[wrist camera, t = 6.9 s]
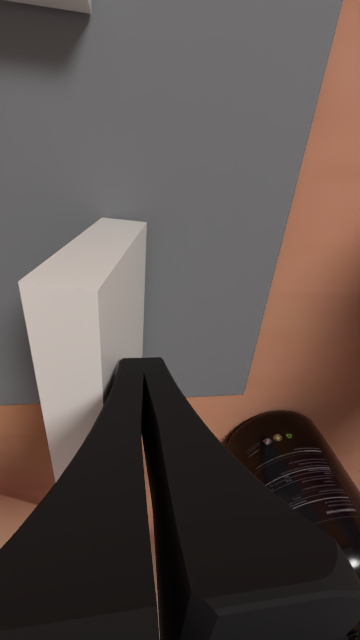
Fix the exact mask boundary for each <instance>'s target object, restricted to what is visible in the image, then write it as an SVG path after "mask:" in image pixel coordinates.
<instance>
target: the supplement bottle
mask: <svg viewBox="0 0 360 640" xmlns="http://www.w3.org/2000/svg"><path fill="white" fill-rule="evenodd" d="M225 448H226V449H227V450H228V451H229V452H230V453H231V454H232V455H233V456H234V457H235V458H236V459H237V460H238V461H239V462H240V463H241V464H242V465H243V466H244V467H245V468H246V469H248V470H249V471H250V472H251V473H252V474H253V475H254V476H255V477H256V478H258V479H259V480H260V481H261V482H262V483H263V484H264V485H265V486H266V487H267V488H269V489H270V490H271V491H272V492H273V493H274V494H276V495H277V496H278V497H279V498H281V499H282V500H283V501H284V502H285V503H287V504H288V505H289V506H290V507H292V508H293V509H294V510H295V511H297V512H298V513H300V514H301V515H302V516H304V517H305V518H306V519H308V520H309V521H311V522H312V523H313V524H315V525H316V526H317V527H319V528H320V529H322V530H323V531H324V532H326V533H327V534H328V535H330V536H331V537H333V538H334V539H335V540H336V541H337V543H338V545H339V546H340V548H341V549H342V551H343V552H344V554H345V556H346V557H347V559H348V560H349V562H350V564H351V565H352V567H353V569H354V571H355V572H356V574H357V576H358V578H359V580H360V491H359V490H358V488H357V487H356V485H355V484H354V482H353V481H352V479H351V478H350V476H349V475H348V473H347V472H346V470H345V469H344V467H343V466H342V464H341V463H340V461H339V460H338V458H337V457H336V455H335V454H334V452H333V451H332V449H331V448H330V446H329V445H328V443H327V442H326V440H325V439H324V437H323V436H322V434H321V433H320V431H319V430H318V428H317V427H316V426H315V424H314V423H313V422H312V421H311V420H310V419H309V418H307V417H306V416H304V415H302V414H299V413H296V412H292V411H272V412H268V413H264V414H261V415H258V416H256V417H254V418H252V419H250V420H248V421H246V422H245V423H244V424H242V425H241V426H240V427H239V428H237V429H236V430H235V432H234V433H233V434H232V435H231V437H230V438H229V440H228V442H227V444H226V447H225ZM346 636H347V638H348V640H360V621H359V622H358V623H357V624H356V625H355V626H354V627H353V628H352V629H351V630H350V631H349V632H348V633H347V634H346Z"/></svg>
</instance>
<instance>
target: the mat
mask: <svg viewBox="0 0 360 640" xmlns="http://www.w3.org/2000/svg"><path fill="white" fill-rule="evenodd" d="M342 2H343V0H91V4H92V14H88V13H82V12H76V11H69V10H63V9H56V8H50V7H44V6H37V5H31V4H25V3H18V2H12V1H6V0H0V405H16V404H39V403H41V402H40V397H39V392H38V386H37V381H36V376H35V370H34V365H33V359H32V354H31V349H30V343H29V338H28V333H27V327H26V322H25V317H24V311H23V306H22V300H21V295H20V290H19V284H18V281H19V280H21V279H22V278H23V277H25V276H26V275H27V274H29V273H30V272H31V271H33V270H34V269H35V268H36V267H38V266H39V265H40V264H42V263H43V262H44V261H46V260H47V259H48V258H50V257H51V256H52V255H54V254H55V253H56V252H57V251H59V250H60V249H61V248H63V247H64V246H65V245H67V244H68V243H69V242H71V241H72V240H73V239H75V238H76V237H77V236H78V235H80V234H81V233H82V232H84V231H85V230H86V229H88V228H89V227H90V226H92V225H93V224H94V223H96V222H97V221H98V220H99V219H101V218H102V217H103V218H112V219H122V220H131V221H140V222H147V232H146V262H145V293H144V323H143V353H142V358H148V357H161V358H162V359H163V360H164V362H165V364H166V366H167V368H168V370H169V372H170V374H171V375H172V377H173V379H174V381H175V382H176V384H177V386H178V387H179V389H180V390H181V392H182V393H183V395H184V396H185V397H198V396H221V395H243V394H244V390H245V386H246V382H247V378H248V374H249V371H250V367H251V363H252V359H253V355H254V351H255V347H256V343H257V339H258V335H259V331H260V327H261V323H262V319H263V315H264V311H265V307H266V303H267V299H268V295H269V291H270V287H271V283H272V279H273V275H274V271H275V267H276V263H277V259H278V256H279V252H280V248H281V244H282V240H283V236H284V232H285V228H286V224H287V220H288V216H289V212H290V208H291V204H292V200H293V196H294V192H295V188H296V184H297V180H298V176H299V172H300V168H301V164H302V160H303V156H304V152H305V148H306V144H307V141H308V137H309V133H310V129H311V125H312V121H313V117H314V113H315V109H316V105H317V101H318V97H319V93H320V89H321V85H322V81H323V77H324V73H325V69H326V65H327V61H328V57H329V53H330V49H331V45H332V41H333V37H334V33H335V29H336V26H337V22H338V18H339V14H340V10H341V6H342Z"/></svg>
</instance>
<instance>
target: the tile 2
mask: <svg viewBox="0 0 360 640" xmlns="http://www.w3.org/2000/svg"><path fill="white" fill-rule="evenodd" d="M146 232H147V222H140V221H131V220H122V219H112V218H103V217H102V218H101V219H99V220H98V221H97V222H96V223H94V224H93V225H92V226H90V227H89V228H88V229H86V230H85V231H84V232H82V233H81V234H80V235H78V236H77V237H76V238H75V239H73V240H72V241H71V242H69V243H68V244H67V245H65V246H64V247H63V248H61V249H60V250H59V251H57V252H56V253H55V254H54V255H52V256H51V257H50V258H48V259H47V260H46V261H44V262H43V263H42V264H40V265H39V266H38V267H36V268H35V269H34V270H33V271H31V272H30V273H29V274H27V275H26V276H25V277H23V278H22V279H21V280H19V281H18V284H19V290H20V295H21V300H22V306H23V311H24V317H25V322H26V327H27V333H28V338H29V343H30V349H31V354H32V359H33V365H34V370H35V376H36V381H37V386H38V392H39V397H40V402H41V408H42V413H43V419H44V424H45V429H46V435H47V440H48V445H49V451H50V456H51V462H52V467H53V472H54V478H55V483H56V482H57V480H58V479H59V477H60V476H61V475H62V473H63V472H64V470H65V469H66V467H67V466H68V465H69V463H70V462H71V460H72V459H73V457H74V456H75V454H76V453H77V451H78V450H79V448H80V447H81V445H82V444H83V442H84V440H85V439H86V437H87V435H88V434H89V432H90V430H91V428H92V427H93V425H94V423H95V421H96V419H97V417H98V415H99V413H100V412H101V410H102V408H103V406H104V404H105V401H106V399H107V397H108V395H109V392H110V390H111V388H112V385H113V383H114V380H115V377H116V374H117V371H118V367H119V361H120V360H121V359H122V358H142V353H143V323H144V293H145V262H146Z"/></svg>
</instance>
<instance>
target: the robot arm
mask: <svg viewBox="0 0 360 640" xmlns="http://www.w3.org/2000/svg"><path fill="white" fill-rule="evenodd" d="M141 436H142V438H143V445H144V452H145V459H146V466H147V472H148V479H149V486H150V493H151V500H152V509H153V521H154V537H155V554H156V572H157V590H158V609H159V628H158V614H157V602H156V593H155V583H154V574H153V564H152V554H151V544H150V534H149V524H148V513H147V502H146V491H145V479H144V467H143V454H142V441H141ZM359 621H360V580H359V578H358V576H357V574H356V572H355V571H354V569H353V567H352V565H351V564H350V562H349V560H348V559H347V557H346V556H345V554H344V552H343V551H342V549H341V548H340V546H339V545H338V543H337V541H336V540H335V539H334V538H333V537H331V536H330V535H328V534H327V533H326V532H324V531H323V530H322V529H320V528H319V527H317V526H316V525H315V524H313V523H312V522H311V521H309V520H308V519H306V518H305V517H304V516H302V515H301V514H300V513H298V512H297V511H295V510H294V509H293V508H292V507H290V506H289V505H288V504H287V503H285V502H284V501H283V500H282V499H281V498H279V497H278V496H277V495H276V494H274V493H273V492H272V491H271V490H270V489H269V488H267V487H266V486H265V485H264V484H263V483H262V482H261V481H260V480H259V479H258V478H256V477H255V476H254V475H253V474H252V473H251V472H250V471H249V470H248V469H246V468H245V467H244V466H243V465H242V464H241V463H240V462H239V461H238V460H237V459H236V458H235V457H234V456H233V455H232V454H231V453H230V452H229V451H228V450H227V449H226V448H225V447H224V445H223V444H222V443H221V442H220V441H219V440H218V439H217V438H216V437H215V435H214V434H213V433H212V432H211V431H210V430H209V428H208V427H207V426H206V425H205V423H204V422H203V421H202V420H201V418H200V417H199V416H198V415H197V413H196V412H195V411H194V409H193V408H192V406H191V405H190V404H189V402H188V401H187V399H186V398H185V396H184V395H183V393H182V392H181V390H180V389H179V387H178V386H177V384H176V382H175V381H174V379H173V377H172V375H171V374H170V372H169V370H168V368H167V366H166V364H165V362H164V360H163V359H162V358H161V357H148V358H122V359H121V360H120V361H119V367H118V371H117V374H116V377H115V380H114V383H113V385H112V388H111V390H110V392H109V395H108V397H107V399H106V401H105V404H104V406H103V408H102V410H101V412H100V413H99V415H98V417H97V419H96V421H95V423H94V425H93V427H92V428H91V430H90V432H89V434H88V435H87V437H86V439H85V440H84V442H83V444H82V445H81V447H80V448H79V450H78V451H77V453H76V454H75V456H74V457H73V459H72V460H71V462H70V463H69V465H68V466H67V467H66V469H65V470H64V472H63V473H62V475H61V476H60V477H59V479H58V480H57V482H56V483H55V484H54V485H53V487H52V488H51V489H50V491H49V492H48V493H47V495H46V496H45V497H44V498H43V500H42V501H41V502H40V503H39V504H38V506H37V507H36V508H35V509H34V511H33V512H32V513H31V514H30V515H29V517H28V518H27V519H26V520H25V521H24V523H23V524H22V525H21V526H20V528H19V529H18V530H17V531H16V533H14V534H13V536H12V537H11V538H10V539H9V540H8V541H7V542H6V544H5V545H4V546H3V547H2V548H1V549H0V640H159V629H160V640H348V638H347V636H346V634H347V633H348V632H349V631H350V630H351V629H352V628H353V627H354V626H355V625H356V624H357V623H358V622H359Z"/></svg>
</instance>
